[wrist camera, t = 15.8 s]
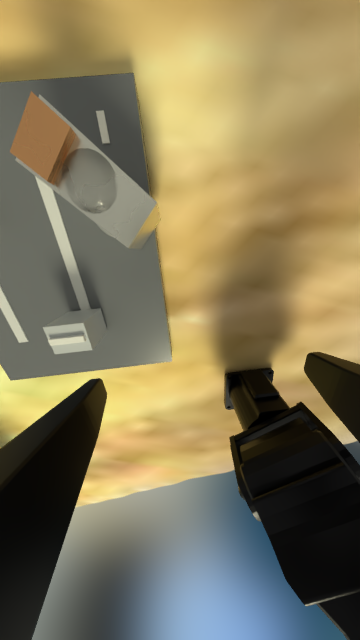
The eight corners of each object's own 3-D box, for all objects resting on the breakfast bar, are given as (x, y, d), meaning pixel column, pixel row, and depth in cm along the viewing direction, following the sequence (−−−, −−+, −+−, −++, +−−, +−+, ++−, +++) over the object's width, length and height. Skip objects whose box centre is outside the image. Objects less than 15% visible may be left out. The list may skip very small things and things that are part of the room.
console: (171, 351, 21) (172, 362, 19) (25, 368, 20) (9, 381, 18) (138, 99, 12) (132, 69, 10) (-116, 119, 12) (-175, 91, 10)
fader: (107, 330, 17) (91, 352, 13) (76, 334, 17) (52, 356, 13) (100, 308, 16) (81, 324, 12) (68, 311, 16) (39, 329, 12)
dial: (160, 219, 13) (156, 200, 8) (141, 249, 14) (126, 248, 9) (90, 156, 12) (30, 82, 7) (72, 194, 12) (5, 154, 7)
